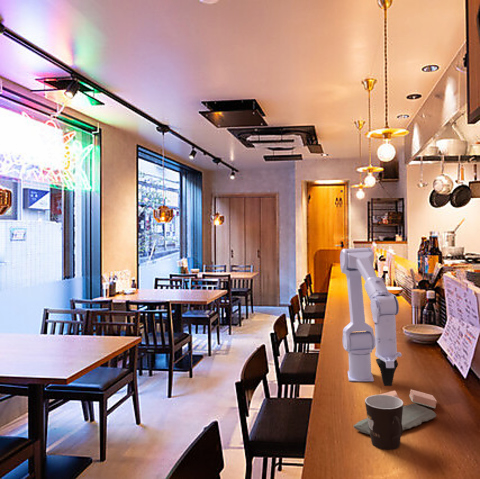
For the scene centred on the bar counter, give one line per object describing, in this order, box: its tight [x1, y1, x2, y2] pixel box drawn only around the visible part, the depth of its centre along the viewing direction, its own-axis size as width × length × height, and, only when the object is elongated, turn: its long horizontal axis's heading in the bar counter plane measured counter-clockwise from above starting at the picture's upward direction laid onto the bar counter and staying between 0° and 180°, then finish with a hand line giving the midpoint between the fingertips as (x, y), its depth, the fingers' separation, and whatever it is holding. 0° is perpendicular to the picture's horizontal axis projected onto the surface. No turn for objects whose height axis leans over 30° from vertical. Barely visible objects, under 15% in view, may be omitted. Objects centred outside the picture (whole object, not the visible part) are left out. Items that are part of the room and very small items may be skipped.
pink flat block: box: [409, 389, 438, 409], centre depth 125 cm, size 2×6×6 cm
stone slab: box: [353, 403, 437, 435], centre depth 114 cm, size 22×3×10 cm
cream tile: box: [378, 390, 400, 399], centre depth 125 cm, size 2×6×6 cm
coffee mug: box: [364, 394, 404, 451], centre depth 103 cm, size 12×9×10 cm
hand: (387, 385), depth 126 cm, fingers closed
